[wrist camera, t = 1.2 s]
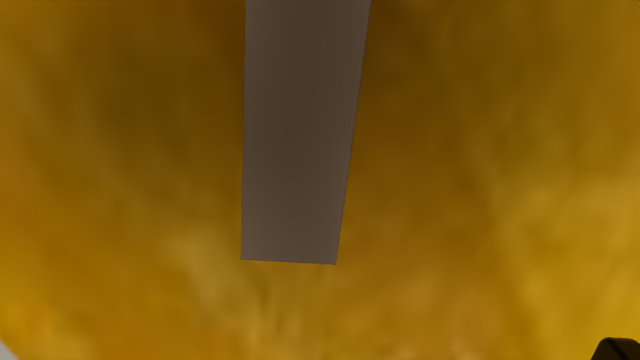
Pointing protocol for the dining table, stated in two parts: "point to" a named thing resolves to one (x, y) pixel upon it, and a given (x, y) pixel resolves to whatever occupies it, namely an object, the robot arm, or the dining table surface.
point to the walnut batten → (299, 125)
